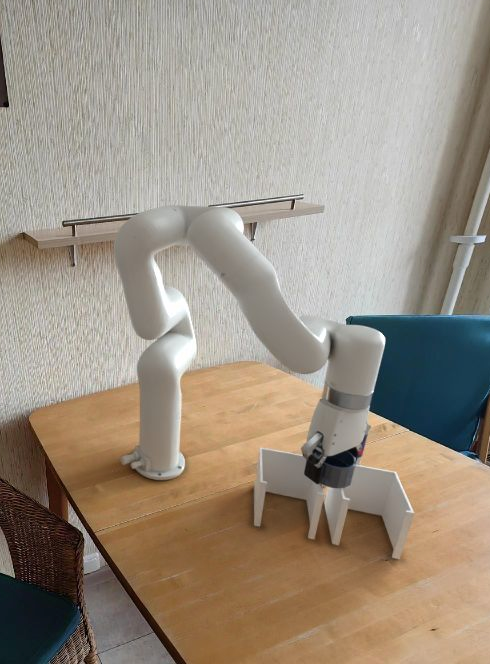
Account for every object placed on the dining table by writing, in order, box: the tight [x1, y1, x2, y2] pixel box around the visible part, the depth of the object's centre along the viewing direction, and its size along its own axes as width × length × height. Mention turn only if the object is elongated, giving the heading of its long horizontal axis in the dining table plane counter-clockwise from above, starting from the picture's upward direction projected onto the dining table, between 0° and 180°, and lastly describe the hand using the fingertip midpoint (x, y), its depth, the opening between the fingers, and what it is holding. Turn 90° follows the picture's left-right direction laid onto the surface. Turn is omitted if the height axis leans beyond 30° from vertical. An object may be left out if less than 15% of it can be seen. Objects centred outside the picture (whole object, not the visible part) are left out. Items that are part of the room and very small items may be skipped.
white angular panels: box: [253, 446, 415, 560], centre depth 84 cm, size 25×11×11 cm, turn 71°
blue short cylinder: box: [314, 444, 357, 488], centre depth 81 cm, size 7×7×5 cm
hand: (329, 471), depth 82 cm, fingers open, 9 cm apart
